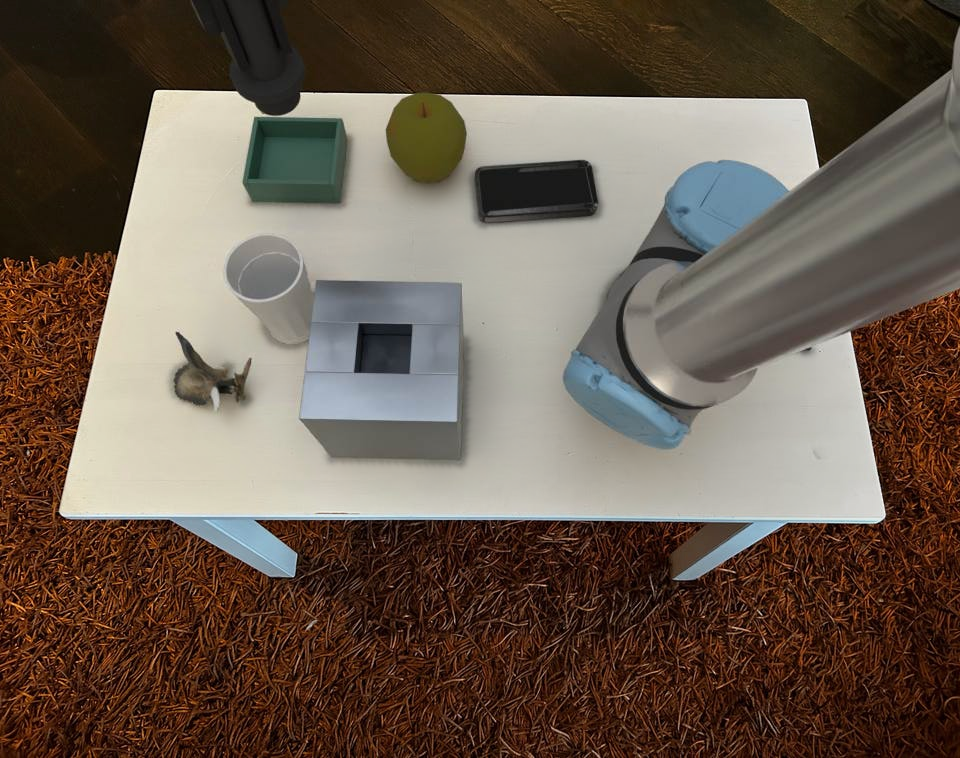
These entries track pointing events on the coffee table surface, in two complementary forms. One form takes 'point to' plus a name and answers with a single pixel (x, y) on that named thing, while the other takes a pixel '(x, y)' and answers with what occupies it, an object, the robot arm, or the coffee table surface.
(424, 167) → the apple
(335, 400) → the square hole box
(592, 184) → the phone
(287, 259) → the cup
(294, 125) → the green open tray
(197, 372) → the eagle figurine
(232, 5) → the plug
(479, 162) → the coffee table surface
